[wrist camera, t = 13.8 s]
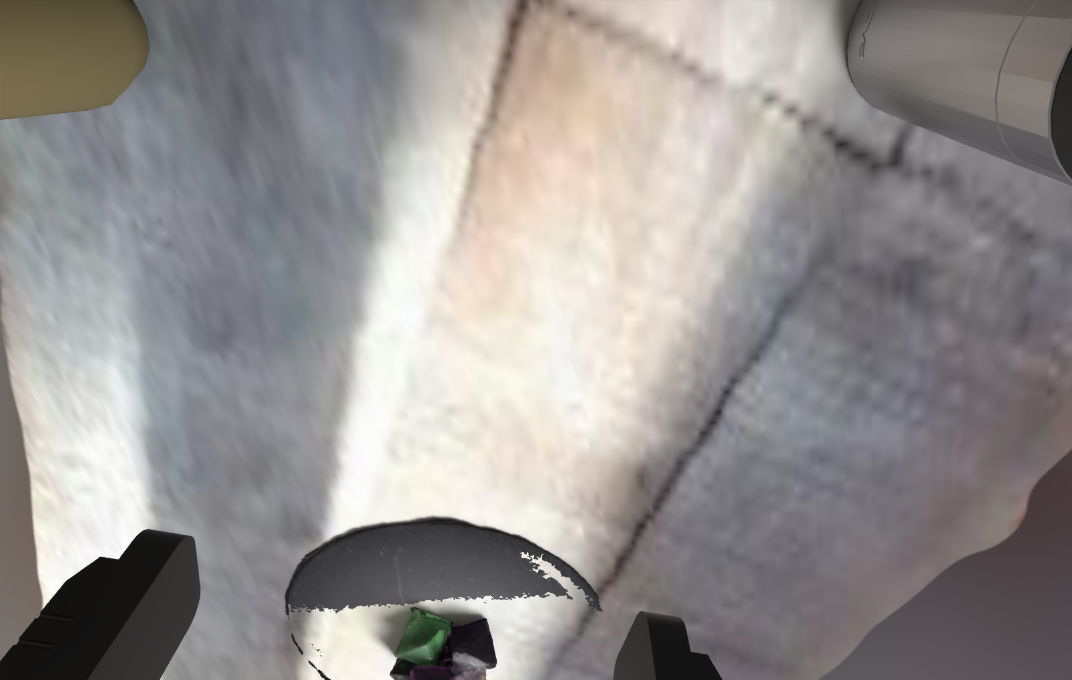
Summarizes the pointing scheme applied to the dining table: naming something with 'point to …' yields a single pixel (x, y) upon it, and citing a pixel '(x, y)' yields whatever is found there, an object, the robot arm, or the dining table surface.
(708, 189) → the dining table surface
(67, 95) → the squeeze bottle
